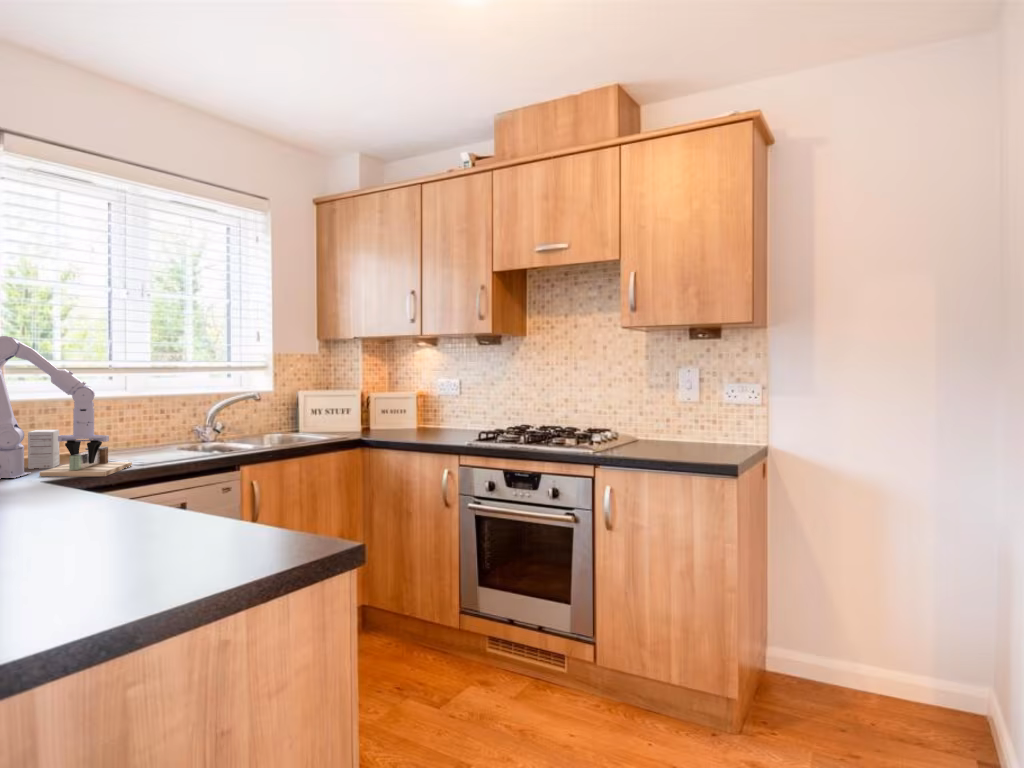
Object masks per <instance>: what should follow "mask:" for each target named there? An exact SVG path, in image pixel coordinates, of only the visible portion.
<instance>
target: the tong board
mask: <svg viewBox="0 0 1024 768" xmlns="http://www.w3.org/2000/svg"><path fill="white" fill-rule="evenodd" d="M98 450H100V463H99V464H96V465H92V466H89V467H86V468H83V469H80V470H69V463H65V464H63V465H58V466H56V467H54V468H47V469H45V470H42V471H39V477H40V476H68V477H107V476H109V475H113V474H115V473H119V472H120V470H121V471H123V470H122V469H124V468H126V467H129V466H131V465H132V466H133V462H132V461H127V462H126V461H117V462H116V461H111V462H109V446H100V447H99V449H98ZM85 451H88V447H85ZM129 468H130V467H129ZM126 469H127V468H126ZM124 470H125V469H124Z"/></svg>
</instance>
